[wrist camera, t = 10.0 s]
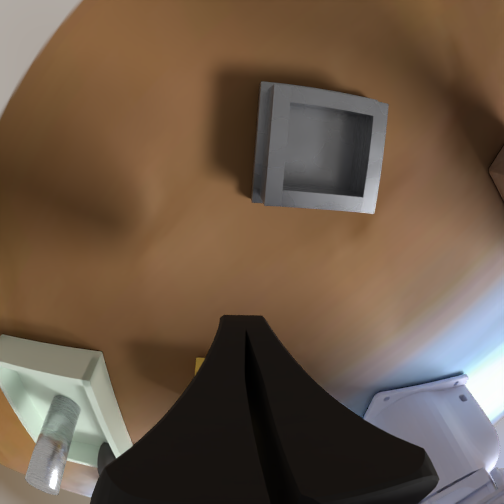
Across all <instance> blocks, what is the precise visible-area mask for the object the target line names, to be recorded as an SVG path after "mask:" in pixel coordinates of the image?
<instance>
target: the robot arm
mask: <svg viewBox="0 0 504 504" xmlns="http://www.w3.org/2000/svg"><path fill="white" fill-rule="evenodd" d="M467 380H468V376H467V375H466V374H463V375H459V376H456V377H452V378H448V379H444V380H439V381H435V382H430V383H426V384H421V385H416V386H411V387H406V388H401V389H395V390H389V391H383V392H379V393H377V394H376V395H375V396H374V397H373V399H372V401H371V403H370V405H369V407H368V409H367V411H366V413H365V415H364V417H363V418H361V417H360V416H358V415H357V414H355V413H354V412H352V411H351V410H349V409H348V408H346V407H345V406H344V405H342V404H341V403H339V402H338V401H337V400H336V399H334V398H333V397H332V396H331V395H329V394H328V393H327V392H326V391H325V390H324V389H323V388H321V387H320V386H319V385H318V384H317V383H316V382H315V381H314V380H313V379H312V378H311V377H310V376H309V375H308V374H307V373H306V372H305V371H304V370H303V368H302V367H301V366H300V365H299V364H298V363H297V362H296V361H295V359H294V358H293V357H292V356H291V355H290V353H289V352H288V351H287V350H286V348H285V347H284V346H283V344H282V343H281V342H280V340H279V339H278V338H277V336H276V335H275V333H274V332H273V330H272V329H271V327H270V326H269V324H268V323H267V321H266V320H265V318H264V317H263V316H248V315H223V316H222V317H221V318H220V323H219V327H218V330H217V333H216V336H215V338H214V341H213V343H212V345H211V347H210V349H209V351H208V354H207V356H206V358H205V359H204V361H203V363H202V365H201V366H200V368H199V370H198V371H197V373H196V375H195V376H194V378H193V379H192V381H191V383H190V384H189V385H188V387H187V388H186V390H185V391H184V392H183V394H182V395H181V396H180V398H179V399H178V400H177V401H176V403H175V404H174V405H173V406H172V407H171V409H170V410H169V411H168V412H167V413H166V414H165V415H164V417H163V418H162V419H161V420H160V421H159V422H158V423H157V424H156V425H155V426H154V427H153V428H152V429H151V430H149V431H148V432H147V433H146V434H145V435H144V436H143V437H142V438H141V439H140V440H139V441H138V442H137V443H135V444H134V445H133V446H132V447H131V448H129V449H128V450H127V451H125V452H124V453H123V454H121V455H120V456H119V457H118V458H116V459H115V460H114V461H112V462H111V463H109V464H108V465H107V466H105V467H104V469H103V471H102V473H101V475H100V477H99V479H98V481H97V483H96V486H95V488H94V491H93V494H92V497H91V502H90V504H504V468H501V469H498V468H494V466H495V464H496V462H497V460H498V457H499V451H500V443H499V438H498V434H497V431H496V430H495V428H494V426H493V425H492V423H491V422H490V420H489V419H488V417H487V416H486V414H485V413H484V411H483V410H482V409H481V407H480V406H479V404H478V403H477V401H476V400H475V399H474V397H473V396H472V394H471V393H470V392H469V390H468V389H467V388H466V386H465V384H466V382H467ZM493 468H494V469H493ZM492 469H493V470H492ZM491 470H492V471H491ZM489 473H491V475H492V478H493V479H494V481H495V484H496V486H495V484H494V482H493V481H492V479H491V477H490V475H489ZM496 487H497V488H496Z"/></svg>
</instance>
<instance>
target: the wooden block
mask: <svg viewBox="0 0 504 504" xmlns="http://www.w3.org/2000/svg"><path fill="white" fill-rule="evenodd" d="M489 173H490V175H491V177H492V179H493V181H494V183H495V185H496V187H497V189H498V191H499V193H500V195H501V197H502V199H503V201H504V146H503V147H502V149H501V150H500V152H499V154H498V155H497V157H496V158H495V160H494V161H493V163H492V164H491V166H490V168H489Z"/></svg>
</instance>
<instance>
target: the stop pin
mask: <svg viewBox="0 0 504 504" xmlns="http://www.w3.org/2000/svg"><path fill="white" fill-rule="evenodd" d="M80 412H81V409H80V407H79V405H78V404H77V403H76V402H74V401H73V400H72V399H70V398H68V397H65V396H62V395H56V396H54V397H53V399H52V402H51V404H50V407H49V410H48V412H47V415H46V417H45V420H44V423H43V425H42V428H41V431H40V434H39V436H38V439H37V442H36V445H35V448H34V451H33V454H32V457H31V460H30V463H29V467H28V470H27V473H26V477H25V480H26V481H27V482H28V483H29V484H31V485H32V486H34V487H35V488H37V489H39V490H41V491H43V492H46V493H49V494H53V495H58V494H59V489H60V485H61V481H62V476H63V472H64V468H65V464H66V460H67V457H68V453H69V449H70V445H71V442H72V438H73V435H74V431H75V428H76V425H77V421H78V418H79V415H80Z"/></svg>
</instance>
